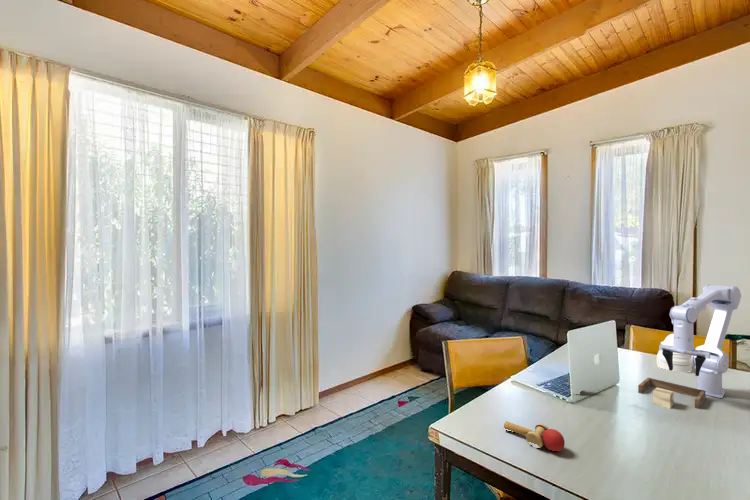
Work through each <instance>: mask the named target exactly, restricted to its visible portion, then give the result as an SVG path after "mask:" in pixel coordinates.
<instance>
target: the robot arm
mask: <svg viewBox="0 0 750 500" xmlns="http://www.w3.org/2000/svg"><path fill="white" fill-rule="evenodd" d="M741 298H742V293H741V290H740V288H739V287H737V286H735V285H734V286H731V285H729V286H728V285H727V286H726V285H717V284H715V285H714V284H706V285H704V286H703V288H702V293H700V294H699V295H698V296H697V297H692V296H691V297H690V298H689V299H688V300H686V301H685V302H684V303H682V304H680V305H675V306H672V307H671V308H670V311H669V314H668V315H669V317H670V319H671V324H672V325H673V334H674V346H668V345H661V344H659V345H658V346H659V347H658V351H659V350H662V351H663V352H662V354H663V356H664V357H665V359H666V361H667V363H668V366H669V370H671V371H672V370H673V352H675V353H681V354H687V355H689V356H690V359H691V363H692V367H693V366H694V369H695V373H694V374H695V375H694V376H695V377H697V378H696V381H697V382H696V385H697V386H696V388H695V389H700V390H704V391H705V396H710V397H712V398H713V397H715V398H718V399H723V397H724V396H725V394H726V390H723V374H725V373H726V372H727V371H728V370H729V365H730V364H729V359H730V357H729V355H728V354H727V353H726V352H725V351H724V350H723V349H722V348H723V345H724V342H725V338H726V334H727V332H728V327H729V325H730V322H731V318H732V315H733V312H734V310H738V308H739V305H740V302H741V300H742V299H741ZM707 305H709V306H710V307H711V308H713V309H714V312H713V316H712V317H711V321H710V325H709V328H708V331H707V335H706V337H705V341H704V344H702V345H698V346H696V347H694V344H695V343H694V323H695V322H696V321H697V319H698V317H699V315H700V314H701V313H702V312H703V311H705V310H706V309H707ZM694 348H695V349H694ZM671 371H670V372H671Z"/></svg>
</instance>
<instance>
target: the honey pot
mask: <svg viewBox="0 0 750 500" xmlns="http://www.w3.org/2000/svg"><path fill="white" fill-rule="evenodd" d="M660 345H668V346H674V333H670V334H668V335H667V336H666V337H665V339H664V340H663V341H660ZM662 352H663V351H662V350H659V349H658V352H657V354H656V367H657V366H658V367H657V368H659V367H660V368H659V369H661V368H663V369H666V370H665V371H667V370H669V366H668V363H667V361H666V359H665V357H664V356H663V354H662ZM663 369H662V370H663ZM691 370H692V371H693V364H692V363H691V355H687V354H681V353H675V352H673V370H672V371H677V372H688V371H691ZM669 372H671V370H670V371H669ZM677 372H676V373H677Z"/></svg>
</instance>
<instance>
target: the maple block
mask: <svg viewBox="0 0 750 500" xmlns="http://www.w3.org/2000/svg"><path fill="white" fill-rule="evenodd" d="M674 393H675V392H673V391H669V390H665V389H661V388H657V387H655V389H653V390H652V404H653V405H656V406H659V407H663V408H667V409H671V408H673V406H674V404H675V403H674V397H675V396H674Z"/></svg>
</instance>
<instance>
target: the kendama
mask: <svg viewBox="0 0 750 500" xmlns="http://www.w3.org/2000/svg"><path fill="white" fill-rule="evenodd" d="M504 428H505V429H508V430H511V431H513V432H516V433H515V434H517V433H519V435H523V436H525V439H526V442H527V443H528V442H531V443H534V444H537V445H538V446H539V447H540V449H541V448H543V446H545V448H547V450H549V451H550V450H552V451H551V452H553V451H557V452H556V453H558V451H559V452H561V451H563V450H564V448H565V439H564V436H563V435H562V433H561V432H559V431H558V430H557V429H553V428H549V427H548V426H547V425H545V424H544V423H537V424H536V425H535V427H534V430H535V431H534V430H532V429H529V428H527V427H524V426H521V425H519V424H515V423H514V422H513V423H512V422H510V421H505V422H504V423H503V429H504ZM513 432H512V433H513Z"/></svg>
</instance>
